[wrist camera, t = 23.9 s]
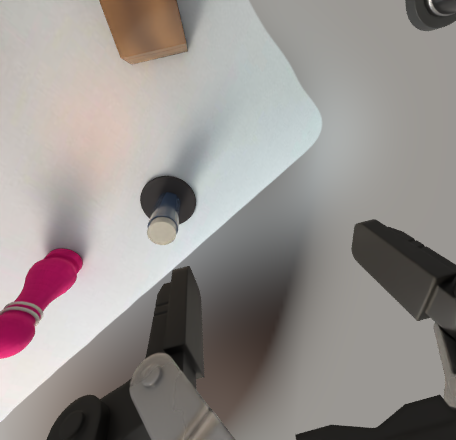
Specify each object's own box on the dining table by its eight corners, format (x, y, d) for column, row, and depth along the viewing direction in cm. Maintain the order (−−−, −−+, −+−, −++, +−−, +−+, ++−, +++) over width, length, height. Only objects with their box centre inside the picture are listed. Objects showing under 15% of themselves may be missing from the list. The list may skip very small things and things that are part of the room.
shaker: (176, 189, 38) (171, 217, 29) (184, 210, 40) (181, 241, 31) (153, 195, 38) (140, 224, 29) (161, 215, 40) (152, 249, 31)
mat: (186, 169, 37) (186, 170, 37) (201, 217, 42) (201, 218, 42) (131, 183, 37) (130, 184, 37) (153, 229, 42) (152, 231, 42)
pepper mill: (51, 274, 44) (-40, 386, 27) (39, 246, 40) (-74, 353, 23) (89, 273, 45) (25, 379, 28) (81, 245, 42) (2, 347, 24)
